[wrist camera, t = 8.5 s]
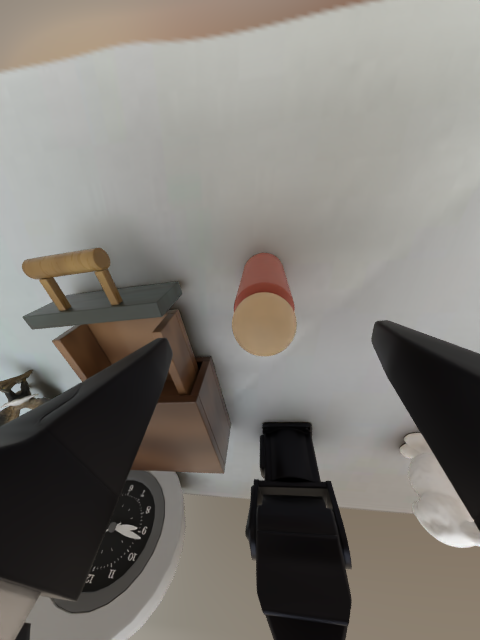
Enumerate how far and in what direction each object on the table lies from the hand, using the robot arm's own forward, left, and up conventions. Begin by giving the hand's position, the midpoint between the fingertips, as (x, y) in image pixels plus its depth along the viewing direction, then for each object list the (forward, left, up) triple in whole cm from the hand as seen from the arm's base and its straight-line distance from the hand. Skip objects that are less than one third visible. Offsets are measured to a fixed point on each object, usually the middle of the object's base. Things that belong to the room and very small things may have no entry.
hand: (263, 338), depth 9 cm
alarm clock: (+27, +37, -10) cm, 47 cm away
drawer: (+13, +3, -9) cm, 16 cm away
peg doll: (0, 0, -10) cm, 10 cm away
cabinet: (+13, +15, -10) cm, 22 cm away
